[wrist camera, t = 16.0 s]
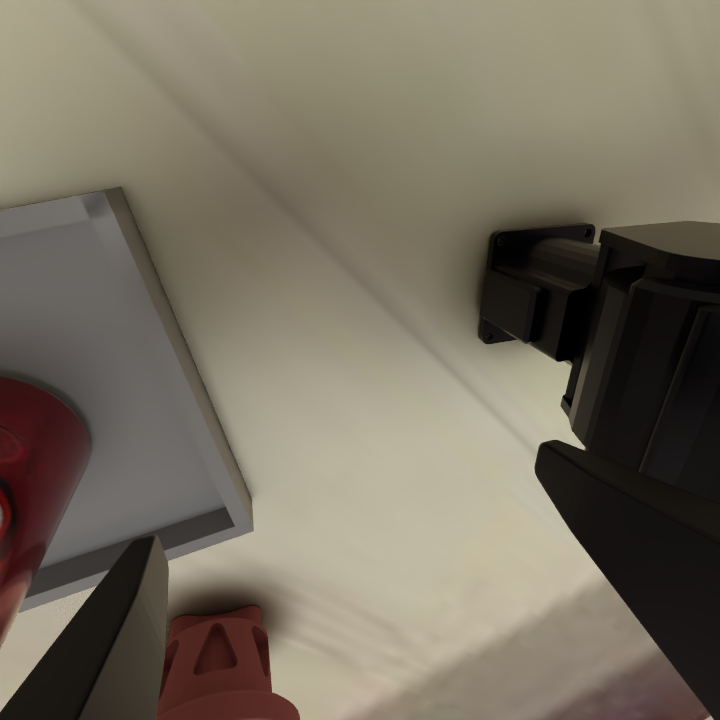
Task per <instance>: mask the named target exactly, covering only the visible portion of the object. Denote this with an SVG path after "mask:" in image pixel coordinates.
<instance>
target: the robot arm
mask: <svg viewBox="0 0 720 720" xmlns="http://www.w3.org/2000/svg"><path fill="white" fill-rule="evenodd" d="M585 231H586V234H585V235H584V233H585ZM594 236H595V226H594V225H592V224H587V223H580V224H568V225H556V226H545V227H533V228H521V229H509V230H499V231H496V232H494V233H493V234H492V236H491V238H490V242H489V251H488V260H487V269H486V273H485V275H484V284H483V293H482V302H481V311H480V315H481V322H480V330H479V338H480V340H481V341H482V342H484V343H485V344H493V343H499V342H506V341H512V340H519V341H521V342H523V343H525V344H529V345H531V346H533V347H534V348H536V349H538V350H539V351H541V352H542V353H544V354H546V355H547V356H549V357H551V358H552V359H554V360H555V361H557V362H561V361H564V362H566V363H568V364H569V365H571V366H572V368H571V373H570V377H569V381H568V385H567V390H566V394H565V395H563V397H562V401H561V407H562V409H563V410H564V412H565V413H566V415H567V416H568V418H569V421H570V425H571V429H572V431H573V432H574V434H575V435H576V436H577V438H578V439H579V440H580V441H581V443H582V444H583V445H584V446H585V450H582V449H579V448H577V447H574V446H572V445H569V444H566V443H564V442H561V441H559V440H551V441H547V442H543V443H541V444H540V446H539V449H538V453H537V458H536V463H535V474H536V476H537V478H538V480H539V481H540V483H541V485H542V486H543V488H544V489H545V491H546V493H547V494H548V496H549V497H550V499H551V501H552V502H553V504H554V505H555V507H556V509H557V510H558V512H559V513H560V515H561V517H562V518H563V520H564V521H565V523H566V524H567V526H568V527H569V529H570V530H571V532H572V533H573V535H574V536H575V537H576V539H577V540H578V541H579V543H580V544H581V545H582V547H583V548H584V549H585V551H586V552H587V553H588V554H589V556H590V557H591V558H592V560H593V561H594V562H595V564H596V565H597V566H598V568H599V569H600V570H601V572H602V573H603V574H604V576H605V577H606V578H607V579H608V581H609V582H610V583H611V585H612V586H613V587H614V589H615V590H616V591H617V593H618V594H619V595H620V597H621V598H622V599H623V601H624V602H625V603H626V604H627V606H628V607H629V608H630V610H631V611H632V612H633V614H634V615H635V616H636V618H637V619H638V620H639V622H640V623H641V624H642V626H643V627H644V628H645V629H646V631H647V632H648V633H649V635H650V636H651V637H652V639H653V640H654V641H655V643H656V644H657V645H658V647H659V648H660V649H661V651H662V652H663V653H664V654H665V656H666V657H667V658H668V660H669V661H670V662H671V664H672V665H673V666H674V668H675V669H676V670H677V672H678V673H679V674H680V676H681V677H682V678H683V679H684V681H685V682H686V683H687V685H688V686H689V687H690V689H691V690H692V691H693V693H694V694H695V695H696V697H697V698H698V699H699V701H700V702H701V703H702V704H703V706H704V707H705V708H706V710H707V711H708V712H709V714H710V715H711V716H712V718H713V719H714V720H720V224H719V223H707V222H695V221H682V222H671V223H659V224H648V225H637V226H626V227H615V228H604V229H602V230H601V234H600V239H599V243H601V246H598V245H594V244H593V240H594ZM500 237H502V241H501V243H500V244H498V240H499V238H500ZM488 333H490V335H489V336H488V337H487V338H486V336H487V334H488ZM168 576H169V569H168V561H167V558H166V556H165V553H164V550H163V548H162V545H161V542H160V539H159V537H158V536H157V535H155V534H152V535H148V536H143V537H139V538H136V539H134V540H133V541H132V542H131V543H130V544H129V546H128V547H127V548H126V549H125V551H124V552H123V553H122V555H121V556H120V557H119V558H118V560H117V561H116V562H115V564H114V565H113V566H112V568H111V569H110V570H109V571H108V573H107V574H106V575H105V577H104V578H103V579H102V581H101V582H100V583H99V584H98V586H97V587H96V588H95V590H94V591H93V592H92V594H91V595H90V596H89V597H88V599H87V600H86V601H85V603H84V604H83V605H82V607H81V608H80V609H79V610H78V612H77V613H76V614H75V616H74V617H73V618H72V620H71V621H70V622H69V623H68V625H67V626H66V627H65V629H64V630H63V631H62V633H61V634H60V635H59V636H58V638H57V639H56V640H55V642H54V643H53V644H52V646H51V647H50V648H49V649H48V651H47V652H46V653H45V655H44V656H43V657H42V659H41V660H40V661H39V662H38V664H37V665H36V666H35V668H34V669H33V670H32V672H31V673H30V674H29V675H28V677H27V678H26V679H25V681H24V682H23V683H22V685H21V686H20V687H19V688H18V690H17V691H16V692H15V694H14V695H13V696H12V698H11V699H10V700H9V701H8V703H7V704H6V705H5V707H4V708H3V709H2V711H1V712H0V720H155V719H156V713H157V706H158V699H159V693H160V686H161V679H162V673H163V666H164V658H165V646H166V625H167V601H168Z"/></svg>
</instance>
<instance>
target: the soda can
mask: <svg viewBox="0 0 720 720" xmlns="http://www.w3.org/2000/svg"><path fill="white" fill-rule="evenodd" d="M89 456H90V443H89V437H88V434H87V432H86V429H85V427H84V425H83V423H82V422H81V420H80V419H79V417H78V416H77V415H76V413H75V412H74V411H73V410H72V409H71V408H70V407H69V406H68V405H67V404H65V403H64V402H63V401H62V400H61V399H59V398H57V397H56V396H54V395H53V394H51V393H50V392H48V391H46V390H44V389H42V388H40V387H37V386H35V385H33V384H31V383H28V382H24V381H21V380H17V379H14V378H10V377H4V376H0V649H1V647H2V645H3V643H4V641H5V639H6V636H7V634H8V632H9V630H10V628H11V626H12V624H13V622H14V620H15V618H16V615H17V613H18V611H19V609H20V607H21V605H22V603H23V601H24V599H25V596H26V594H27V592H28V590H29V588H30V586H31V584H32V582H33V580H34V578H35V575H36V573H37V571H38V569H39V567H40V565H41V563H42V561H43V559H44V556H45V554H46V552H47V550H48V548H49V546H50V544H51V542H52V540H53V538H54V535H55V533H56V531H57V529H58V527H59V525H60V523H61V521H62V519H63V516H64V514H65V512H66V510H67V508H68V506H69V504H70V502H71V500H72V498H73V495H74V493H75V491H76V489H77V487H78V485H79V483H80V481H81V479H82V476H83V474H84V472H85V470H86V468H87V465H88V463H89Z"/></svg>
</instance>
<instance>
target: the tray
mask: <svg viewBox="0 0 720 720" xmlns="http://www.w3.org/2000/svg"><path fill="white" fill-rule="evenodd" d="M0 376H4V377H10V378H14V379H17V380H21V381H24V382H28V383H31V384H33V385H35V386H37V387H40V388H42V389H44V390H46V391H48V392H50V393H51V394H53V395H54V396H56V397H57V398H59V399H61V400H62V401H63V402H64V403H65V404H67V405H68V406H69V407H70V408H71V409H72V410H73V411H74V412H75V413H76V415H77V416H78V417H79V419H80V420H81V422H82V423H83V425H84V427H85V429H86V432H87V434H88V437H89V443H90V456H89V463H88V465H87V468H86V470H85V472H84V474H83V476H82V479H81V481H80V483H79V485H78V487H77V489H76V491H75V493H74V495H73V498H72V500H71V502H70V504H69V506H68V508H67V510H66V512H65V514H64V516H63V519H62V521H61V523H60V525H59V527H58V529H57V531H56V533H55V535H54V538H53V540H52V542H51V544H50V546H49V548H48V550H47V552H46V554H45V556H44V559H43V561H42V563H41V565H40V567H39V569H38V571H37V573H36V575H35V578H34V580H33V582H32V584H31V586H30V588H29V590H28V592H27V594H26V596H25V599H24V601H23V603H22V605H21V607H20V609H19V611H18V613H20V612H23V611H26V610H28V609H31V608H34V607H37V606H40V605H43V604H46V603H49V602H51V601H54V600H57V599H60V598H63V597H66V596H69V595H71V594H74V593H77V592H80V591H83V590H86V589H89V588H92V587H94V586H97V585H98V584H99V583H100V582H101V581H102V579H103V578H104V577H105V575H106V574H107V573H108V571H109V570H110V569H111V568H112V566H113V565H114V564H115V562H116V561H117V560H118V558H119V557H120V556H121V555H122V553H123V552H124V551H125V549H126V548H127V547H128V546H129V544H130V543H131V542H132V541H133V540H134V539H136V538H139V537H143V536H148V535H152V534H155V535H157V536H158V537H159V539H160V542H161V545H162V548H163V550H164V553H165V556H166V558H167V561H169V560H172V559H175V558H178V557H180V556H183V555H186V554H189V553H192V552H195V551H198V550H201V549H203V548H206V547H209V546H212V545H215V544H218V543H221V542H223V541H226V540H229V539H232V538H235V537H238V536H241V535H244V534H246V533H249V532H252V531H254V527H253V510H252V498H251V496H250V493H249V491H248V489H247V486H246V484H245V481H244V479H243V477H242V474H241V472H240V470H239V467H238V465H237V462H236V460H235V458H234V455H233V453H232V451H231V448H230V446H229V443H228V441H227V439H226V436H225V434H224V432H223V429H222V427H221V424H220V422H219V420H218V417H217V415H216V412H215V410H214V408H213V405H212V403H211V401H210V398H209V396H208V393H207V391H206V389H205V386H204V384H203V382H202V379H201V377H200V374H199V372H198V370H197V367H196V365H195V363H194V360H193V358H192V355H191V353H190V351H189V348H188V346H187V344H186V341H185V339H184V336H183V334H182V332H181V329H180V327H179V325H178V322H177V320H176V317H175V315H174V313H173V310H172V308H171V305H170V303H169V301H168V298H167V296H166V294H165V291H164V289H163V286H162V284H161V282H160V279H159V277H158V275H157V272H156V270H155V267H154V265H153V263H152V260H151V258H150V256H149V253H148V251H147V248H146V246H145V244H144V241H143V239H142V237H141V234H140V232H139V229H138V227H137V225H136V222H135V220H134V217H133V215H132V213H131V210H130V208H129V206H128V203H127V201H126V198H125V196H124V194H123V191H122V189H121V187H118V188H113V189H108V190H102V191H97V192H92V193H87V194H81V195H76V196H71V197H66V198H60V199H55V200H50V201H45V202H39V203H34V204H29V205H24V206H18V207H13V208H8V209H3V210H0Z"/></svg>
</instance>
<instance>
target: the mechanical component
mask: <svg viewBox="0 0 720 720" xmlns="http://www.w3.org/2000/svg"><path fill="white" fill-rule="evenodd" d="M155 720H300V716H299V713H298V710H297V709H296V707H295V706H294V705H293V704H292V703H291V702H290V701H288V700H287V699H285V698H283V697H281V696H279V695H278V694H275V693H272V685H271V673H270V660H269V647H268V636H267V633H266V631H265V630H264V628H263V627H262V619H261V610H260V608H258V607H256V606H247V607H244V608H241V609H239V610H236V611H232V612H228V613H223V614H218V615H210V616H191V615H183V616H180V617H178V618H176V619H175V620H174V621H172V623H171V624H170V632H169V639H168V644H167V645H166V646H165V658H164V666H163V673H162V679H161V686H160V693H159V699H158V706H157V713H156V719H155Z"/></svg>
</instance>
